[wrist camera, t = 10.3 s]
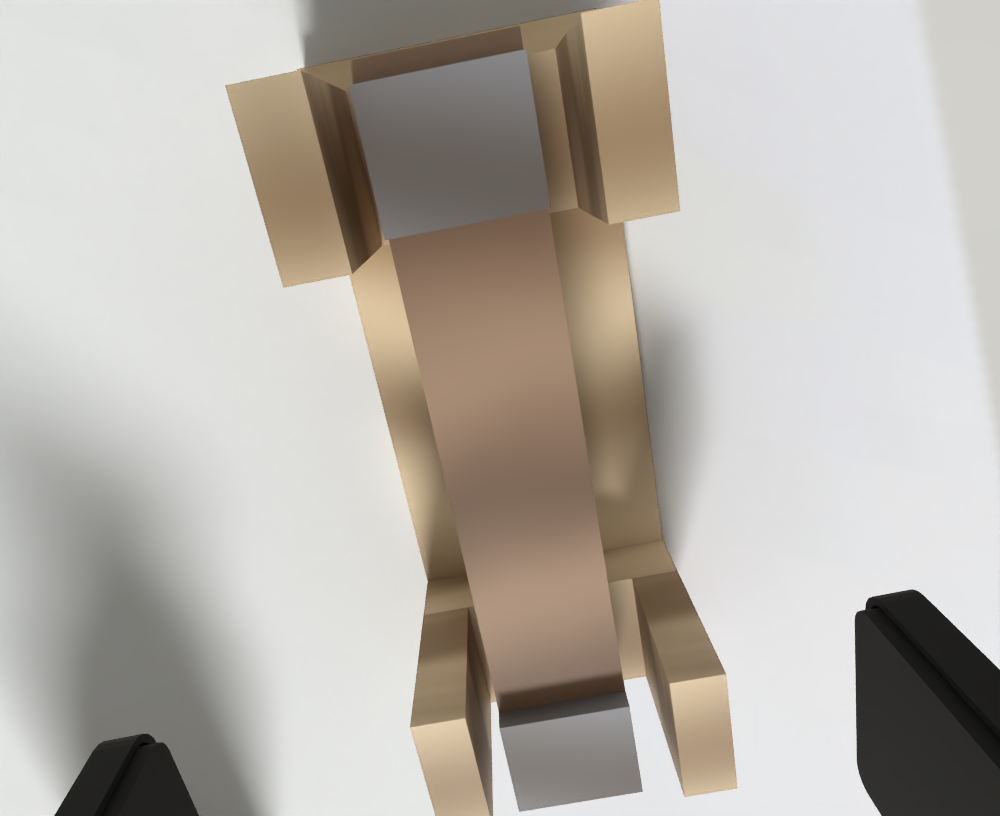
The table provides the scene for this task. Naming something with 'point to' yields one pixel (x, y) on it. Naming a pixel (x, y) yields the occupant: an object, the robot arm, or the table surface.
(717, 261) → the table surface
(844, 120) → the table surface
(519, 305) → the rail
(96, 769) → the robot arm
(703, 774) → the wooden cradle stand
